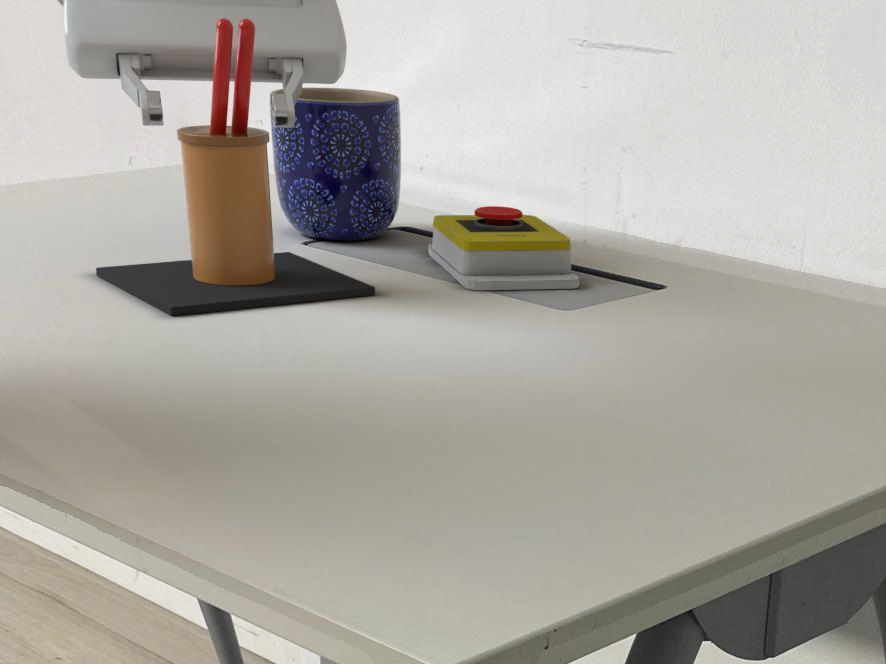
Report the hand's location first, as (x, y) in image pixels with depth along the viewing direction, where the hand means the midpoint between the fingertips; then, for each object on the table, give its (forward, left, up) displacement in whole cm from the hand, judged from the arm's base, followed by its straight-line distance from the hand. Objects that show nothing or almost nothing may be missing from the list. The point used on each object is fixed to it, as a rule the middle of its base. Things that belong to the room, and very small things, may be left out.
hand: (219, 121), depth 105 cm
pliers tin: (-1, -3, -10) cm, 11 cm away
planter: (+16, +12, -11) cm, 22 cm away
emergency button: (+21, -6, -11) cm, 24 cm away
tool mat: (-1, -3, -11) cm, 11 cm away
